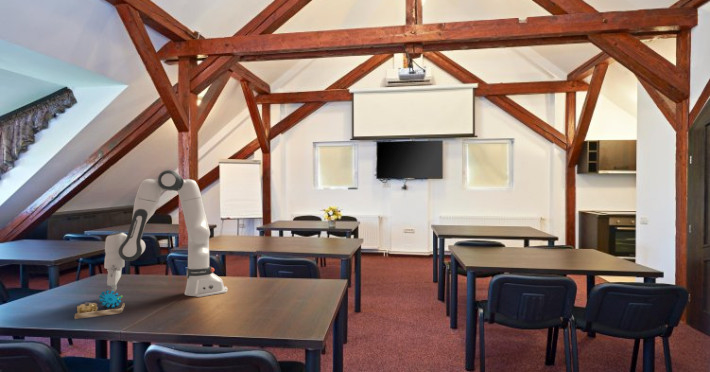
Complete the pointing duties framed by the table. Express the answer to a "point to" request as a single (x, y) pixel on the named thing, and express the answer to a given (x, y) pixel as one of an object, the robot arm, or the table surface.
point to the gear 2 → (110, 299)
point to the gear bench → (100, 312)
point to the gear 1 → (87, 307)
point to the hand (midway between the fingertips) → (114, 290)
